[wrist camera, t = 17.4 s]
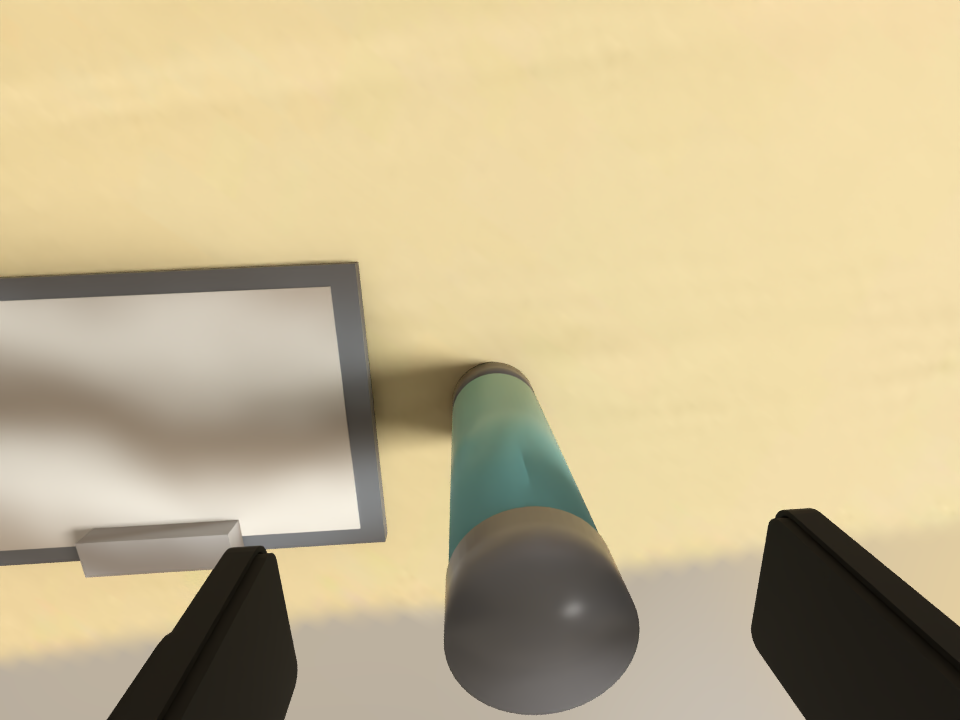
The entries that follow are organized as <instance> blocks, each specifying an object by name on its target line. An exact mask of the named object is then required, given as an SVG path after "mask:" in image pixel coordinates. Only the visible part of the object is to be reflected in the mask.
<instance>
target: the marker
mask: <svg viewBox="0 0 960 720" xmlns="http://www.w3.org/2000/svg"><path fill="white" fill-rule="evenodd" d="M638 639H639V619H638V615H637V610H636V608H635V605H634V603H633V601H632V598H631V596H630V594H629V592H628V590H627V588H626V585H625V583H624V581H623V579H622V577H621V575H620V573H619V570H618V568H617V566H616V564H615V562H614V560H613V558H612V555H611V553H610V551H609V549H608V547H607V545H606V543H605V542H604V540H603V538H602V537H601V536H600V534H599V533H598V531H597V529H596V527H595V524H594V522H593V520H592V518H591V516H590V514H589V511H588V509H587V507H586V505H585V503H584V500H583V498H582V496H581V494H580V492H579V490H578V487H577V485H576V483H575V481H574V479H573V476H572V474H571V472H570V470H569V468H568V466H567V463H566V461H565V459H564V457H563V455H562V452H561V450H560V448H559V446H558V444H557V442H556V439H555V437H554V435H553V433H552V431H551V428H550V426H549V424H548V422H547V420H546V418H545V415H544V413H543V411H542V409H541V407H540V404H539V402H538V400H537V398H536V396H535V394H534V391H533V389H532V387H531V385H530V383H529V381H528V379H527V378H526V377H525V376H524V375H523V374H522V373H521V372H520V371H519V370H518V369H516V368H514V367H512V366H510V365H508V364H504V363H498V362H490V363H484V364H481V365H478V366H476V367H474V368H472V369H470V370H469V371H468V372H466V373H465V374H464V375H463V376H462V378H461V379H460V380H459V382H458V383H457V385H456V388H455V390H454V394H453V410H452V450H451V491H450V531H449V564H448V568H447V574H446V592H445V623H444V650H445V655H446V660H447V663H448V665H449V668H450V670H451V672H452V674H453V675H454V677H455V679H456V680H457V681H458V682H459V684H460V685H461V686H462V687H463V688H464V689H465V690H466V691H467V692H468V693H469V694H470V695H472V696H473V697H475V698H476V699H477V700H479V701H481V702H483V703H485V704H486V705H488V706H491V707H493V708H496V709H498V710H502V711H506V712H510V713H516V714H524V715H543V714H552V713H558V712H562V711H566V710H570V709H572V708H575V707H578V706H581V705H583V704H585V703H587V702H589V701H591V700H593V699H594V698H596V697H598V696H599V695H601V694H602V693H604V692H605V691H606V690H607V689H609V688H610V687H611V686H612V685H613V684H614V683H615V682H616V681H617V680H618V679H619V678H620V677H621V676H622V675H623V673H624V672H625V671H626V669H627V668H628V666H629V664H630V663H631V661H632V659H633V656H634V654H635V652H636V648H637V644H638Z"/></svg>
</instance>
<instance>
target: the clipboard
mask: <svg viewBox="0 0 960 720" xmlns="http://www.w3.org/2000/svg"><path fill="white" fill-rule="evenodd" d="M386 537H387V526H386V517H385V508H384V498H383V489H382V480H381V470H380V461H379V452H378V442H377V433H376V424H375V414H374V405H373V396H372V386H371V377H370V368H369V358H368V349H367V340H366V330H365V321H364V312H363V302H362V293H361V284H360V274H359V265H358V262H351V263H328V264H304V265H281V266H257V267H234V268H211V269H187V270H164V271H141V272H117V273H94V274H71V275H47V276H24V277H0V566H6V565H22V564H38V563H54V562H70V561H80V562H81V565H82V568H83V571H84V574H85V577H101V576H117V575H132V574H148V573H164V572H179V571H195V570H211V569H214V567H215V566H216V564H217V563H218V561H219V560H220V558H221V557H222V555H223V554H224V553H225V551H226V550H227V549H229V548H231V547H245V546H260V545H261V546H264V548H265V549H277V548H293V547H309V546H325V545H341V544H356V543H372V542H385V541H386Z"/></svg>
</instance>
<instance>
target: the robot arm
mask: <svg viewBox="0 0 960 720" xmlns="http://www.w3.org/2000/svg"><path fill="white" fill-rule="evenodd" d="M751 633H752V638H753V641H754V644H755V646H756V648H757V650H758V651H759V653H760V654H761V656H762V657H763V658H764V660H765V661H766V663H767V664H768V666H769V667H770V669H771V670H772V671H773V673H774V674H775V676H776V677H777V679H778V680H779V682H780V683H781V684H782V686H783V687H784V689H785V690H786V691H787V693H788V694H789V696H790V697H791V699H792V700H793V702H794V703H795V704H796V706H797V707H798V709H799V710H800V712H801V713H802V714H803V716H804V717H805V719H806V720H960V627H959V626H958V625H957V624H956V623H955V622H953V621H952V620H951V619H950V618H948V617H947V616H946V615H945V614H943V613H942V612H941V611H940V610H939V609H937V608H936V607H935V606H934V605H933V604H931V603H930V602H929V601H927V600H926V599H925V598H924V597H923V596H922V595H920V594H919V593H918V592H917V591H916V590H914V589H913V588H912V587H911V586H909V585H908V584H907V583H906V582H905V581H903V580H902V579H901V578H900V577H898V576H897V575H896V574H895V573H893V572H892V571H891V570H890V569H889V568H887V567H886V566H884V564H883V563H881V562H880V561H879V560H878V559H876V558H875V557H874V556H873V555H872V554H870V553H869V552H868V551H867V550H865V549H864V548H863V547H862V546H861V545H859V544H858V543H857V542H856V541H854V540H853V539H852V538H851V537H850V536H848V535H847V534H846V533H845V532H843V531H842V530H841V529H840V528H839V527H837V526H836V525H835V524H834V523H832V522H831V521H830V520H829V519H828V518H826V517H825V516H824V515H823V514H821V513H820V512H819V511H817V510H815V509H811V508H805V509H790V510H782V511H779V512H778V513H777V514H776V517H775V519H772V520H771V521H770V522H769V525H768V530H767V536H766V542H765V548H764V554H763V560H762V566H761V572H760V577H759V583H758V589H757V595H756V601H755V607H754V613H753V619H752V625H751ZM296 679H297V660H296V655H295V650H294V645H293V640H292V635H291V630H290V625H289V620H288V615H287V610H286V605H285V600H284V595H283V590H282V585H281V580H280V575H279V570H278V565H277V560H276V556H275V555H274V554H273V553H267V552H266V549H265V548H264V546H261V545H260V546H245V547H231V548H229V549H227V550H226V551H225V553H224V554H223V555H222V557H221V558H220V560H219V561H218V563H217V564H216V566H215V567H214V569H213V570H212V572H211V573H210V575H209V576H208V578H207V579H206V581H205V582H204V584H203V585H202V587H201V588H200V590H199V591H198V593H197V594H196V596H195V597H194V599H193V600H192V602H191V604H190V605H189V607H188V608H187V610H186V611H185V613H184V614H183V616H182V617H181V619H180V620H179V622H178V623H177V625H176V626H175V628H174V629H173V631H172V632H171V633H169V634H168V635H166V636H165V637H164V638H163V639H162V640H161V642H160V643H159V644H158V645H157V647H156V648H155V650H154V651H153V653H152V654H151V656H150V657H149V658H148V660H147V661H146V663H145V664H144V666H143V667H142V669H141V670H140V672H139V673H138V675H137V676H136V678H135V679H134V681H133V682H132V684H131V685H130V687H129V688H128V689H127V691H126V693H125V694H124V695H123V697H122V698H121V700H120V701H119V703H118V704H117V706H116V707H115V709H114V710H113V712H112V713H111V715H110V716H109V717H108V719H107V720H284V719H285V716H286V713H287V709H288V706H289V703H290V700H291V697H292V694H293V691H294V688H295V684H296Z"/></svg>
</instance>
